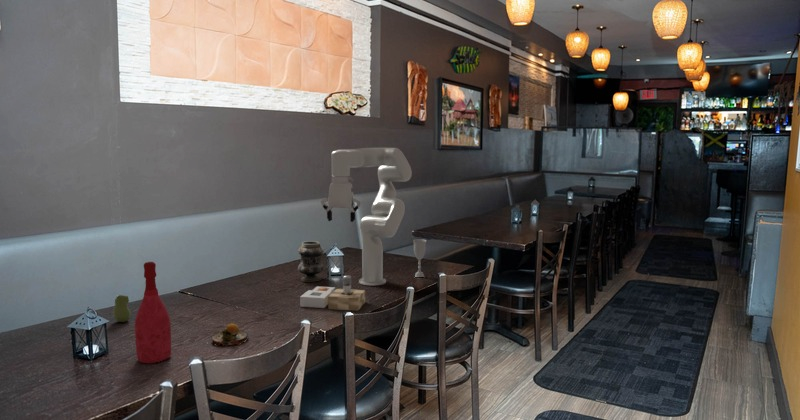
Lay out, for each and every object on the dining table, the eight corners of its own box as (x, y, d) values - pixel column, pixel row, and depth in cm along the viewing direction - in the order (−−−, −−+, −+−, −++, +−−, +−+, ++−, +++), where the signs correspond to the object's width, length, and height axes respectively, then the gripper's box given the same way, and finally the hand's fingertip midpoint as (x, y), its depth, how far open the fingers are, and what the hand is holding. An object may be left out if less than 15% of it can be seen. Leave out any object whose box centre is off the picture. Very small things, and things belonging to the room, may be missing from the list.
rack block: (337, 300, 232) (337, 288, 232) (365, 301, 230) (365, 290, 230) (328, 308, 220) (328, 296, 220) (358, 310, 218) (357, 298, 218)
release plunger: (320, 293, 238) (320, 287, 238) (328, 294, 238) (328, 287, 237) (317, 296, 235) (317, 289, 234) (325, 296, 234) (325, 289, 234)
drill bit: (344, 304, 227) (344, 275, 226) (352, 304, 227) (352, 275, 225) (342, 306, 224) (341, 277, 223) (350, 306, 223) (349, 277, 222)
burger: (234, 332, 194) (234, 311, 194) (255, 340, 187) (255, 318, 186) (203, 341, 185) (203, 319, 184) (224, 350, 178) (223, 327, 177)
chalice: (425, 279, 268) (425, 242, 266) (411, 278, 269) (411, 241, 267) (427, 275, 275) (427, 239, 273) (413, 274, 277) (414, 238, 274)
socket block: (314, 294, 241) (314, 285, 241) (337, 295, 239) (337, 286, 239) (300, 306, 224) (300, 296, 223) (324, 307, 222) (324, 298, 221)
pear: (111, 322, 203) (109, 295, 202) (124, 318, 208) (123, 291, 206) (120, 325, 200) (119, 297, 199) (134, 320, 205) (132, 294, 204)
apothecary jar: (328, 280, 265) (327, 243, 262) (304, 284, 258) (304, 245, 256) (316, 275, 275) (316, 239, 272) (294, 278, 268) (293, 241, 266)
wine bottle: (143, 352, 175) (138, 258, 171) (176, 352, 175) (171, 258, 172) (131, 365, 165) (125, 266, 161) (165, 364, 166) (160, 265, 162)
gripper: (363, 180, 235) (363, 220, 237) (323, 179, 238) (324, 219, 240) (358, 181, 228) (358, 223, 230) (318, 180, 231) (318, 221, 233)
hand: (341, 221), depth 235 cm, fingers open, 9 cm apart
